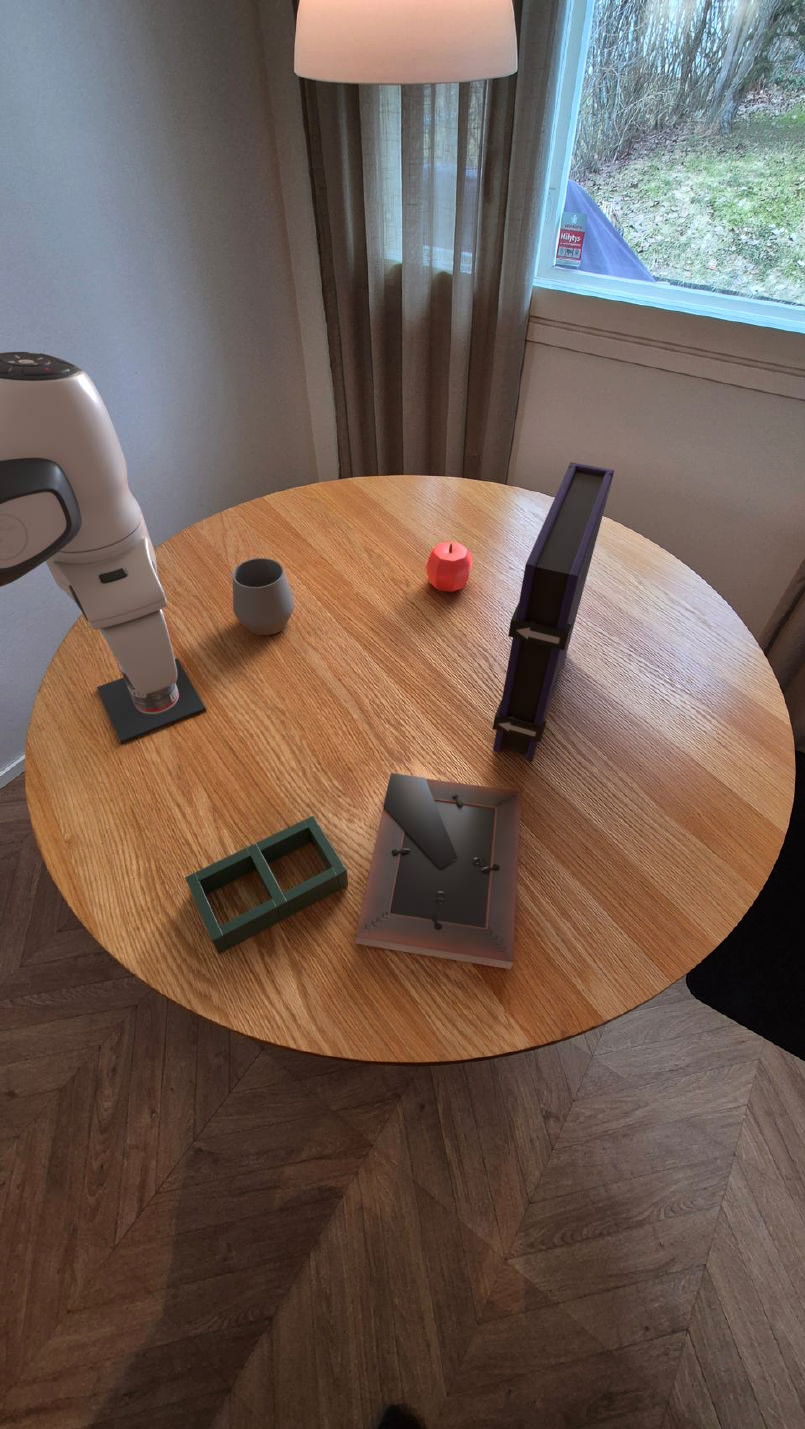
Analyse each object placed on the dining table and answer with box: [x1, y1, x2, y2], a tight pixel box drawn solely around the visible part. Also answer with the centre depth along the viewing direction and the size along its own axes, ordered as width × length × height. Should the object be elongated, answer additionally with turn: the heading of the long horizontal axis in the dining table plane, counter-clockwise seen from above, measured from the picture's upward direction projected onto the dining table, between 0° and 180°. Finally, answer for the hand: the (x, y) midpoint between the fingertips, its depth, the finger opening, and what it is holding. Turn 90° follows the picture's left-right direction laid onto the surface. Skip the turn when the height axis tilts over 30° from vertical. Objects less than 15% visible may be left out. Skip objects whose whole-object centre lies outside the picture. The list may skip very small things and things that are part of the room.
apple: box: [425, 541, 474, 593], centre depth 111 cm, size 8×8×8 cm
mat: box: [96, 657, 207, 745], centre depth 94 cm, size 12×12×1 cm
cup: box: [232, 557, 295, 636], centre depth 102 cm, size 10×9×10 cm
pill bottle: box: [117, 661, 179, 714], centre depth 69 cm, size 5×5×8 cm
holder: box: [184, 815, 349, 955], centre depth 74 cm, size 16×8×4 cm, turn 121°
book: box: [492, 462, 615, 763], centre depth 84 cm, size 24×6×30 cm, turn 159°
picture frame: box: [354, 772, 522, 970], centre depth 76 cm, size 16×2×22 cm
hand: (144, 665), depth 69 cm, fingers closed on pill bottle, 5 cm apart
